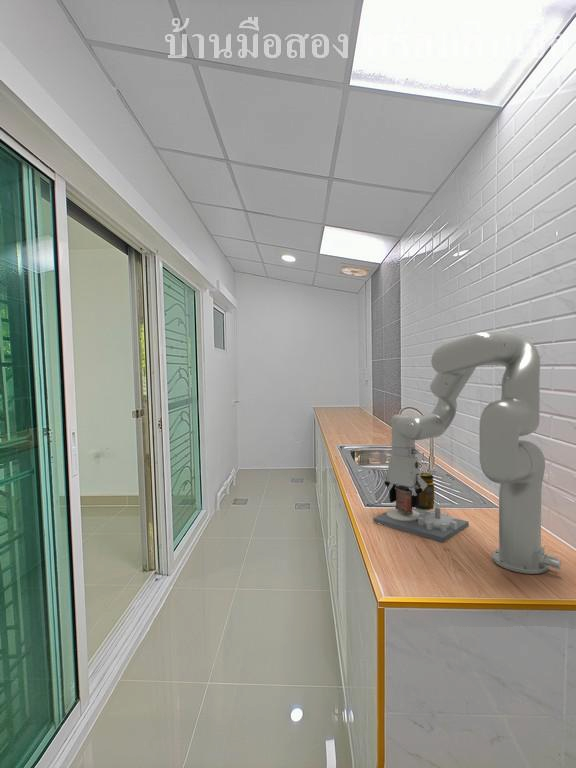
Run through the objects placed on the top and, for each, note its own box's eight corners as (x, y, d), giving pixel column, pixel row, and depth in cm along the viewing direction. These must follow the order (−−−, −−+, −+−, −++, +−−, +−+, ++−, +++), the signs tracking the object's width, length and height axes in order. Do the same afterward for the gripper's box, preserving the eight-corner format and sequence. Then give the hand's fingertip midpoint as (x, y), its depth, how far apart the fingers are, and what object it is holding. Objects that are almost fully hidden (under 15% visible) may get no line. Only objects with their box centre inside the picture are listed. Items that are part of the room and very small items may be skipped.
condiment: (433, 504, 157) (433, 472, 157) (437, 511, 149) (437, 478, 149) (413, 503, 159) (413, 471, 158) (416, 510, 150) (416, 477, 150)
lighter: (415, 514, 138) (414, 483, 137) (406, 515, 137) (405, 484, 136) (401, 506, 145) (401, 478, 145) (393, 507, 144) (392, 478, 144)
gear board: (468, 526, 135) (468, 506, 134) (443, 542, 122) (442, 520, 122) (401, 509, 152) (401, 491, 152) (373, 522, 139) (372, 502, 139)
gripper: (433, 453, 137) (433, 507, 137) (386, 447, 149) (387, 496, 150) (422, 456, 132) (422, 512, 132) (374, 450, 144) (375, 501, 144)
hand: (403, 503), depth 141 cm, fingers closed on lighter, 7 cm apart
